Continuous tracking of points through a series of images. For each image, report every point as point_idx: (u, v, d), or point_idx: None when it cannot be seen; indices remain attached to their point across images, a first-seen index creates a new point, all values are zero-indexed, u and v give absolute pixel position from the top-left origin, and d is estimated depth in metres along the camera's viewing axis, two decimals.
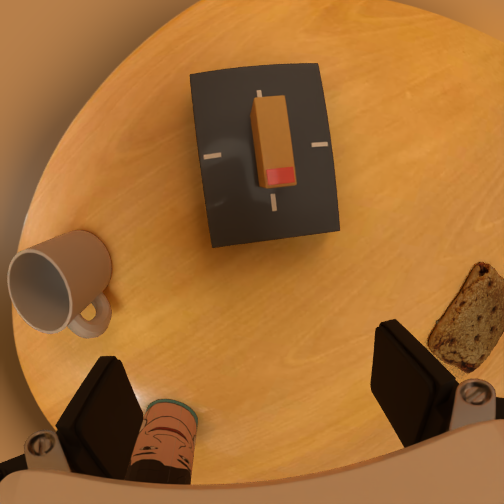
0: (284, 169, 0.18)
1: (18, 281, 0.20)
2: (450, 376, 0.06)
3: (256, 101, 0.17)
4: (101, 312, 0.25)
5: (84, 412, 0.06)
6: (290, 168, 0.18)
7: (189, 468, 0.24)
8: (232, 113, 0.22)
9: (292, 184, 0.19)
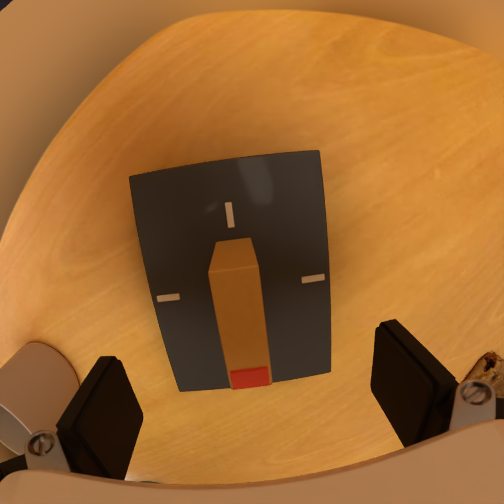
0: (255, 371, 0.13)
1: None
2: (450, 376, 0.06)
3: (212, 278, 0.12)
4: None
5: (84, 412, 0.06)
6: (263, 371, 0.13)
7: None
8: (190, 239, 0.17)
9: (266, 384, 0.13)
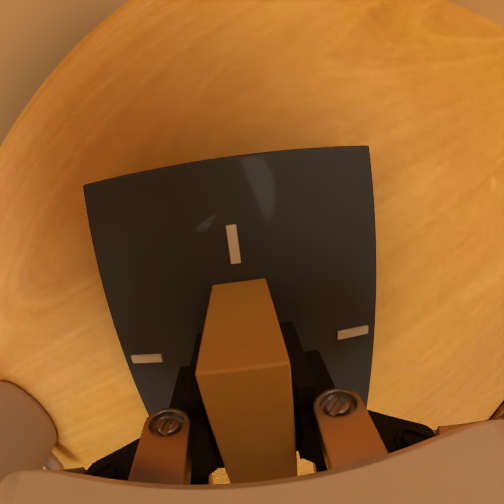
0: None
1: None
2: (311, 382, 0.07)
3: (203, 384, 0.06)
4: None
5: None
6: None
7: None
8: (175, 280, 0.11)
9: None
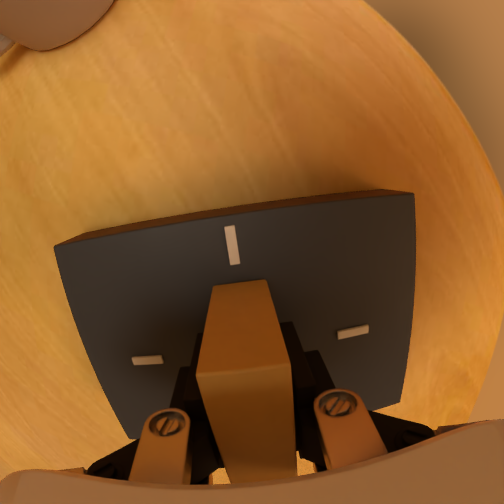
0: None
1: None
2: (311, 382, 0.07)
3: (203, 385, 0.06)
4: None
5: None
6: None
7: None
8: (326, 283, 0.11)
9: None
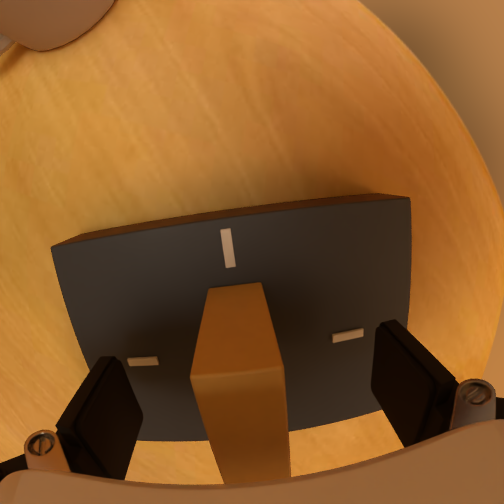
0: None
1: None
2: (449, 376, 0.06)
3: (197, 387, 0.06)
4: None
5: (84, 412, 0.06)
6: None
7: None
8: (321, 286, 0.11)
9: None
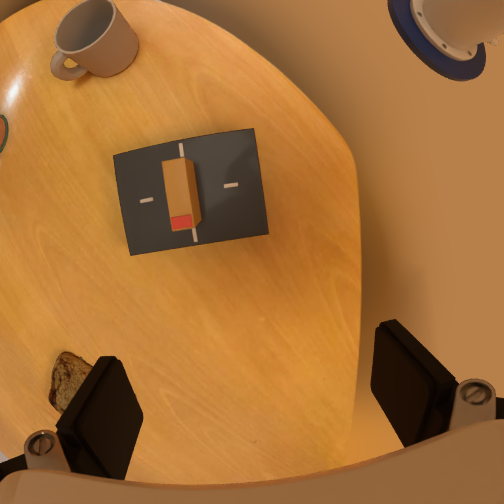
0: (184, 217, 0.24)
1: (97, 4, 0.20)
2: (450, 376, 0.06)
3: (163, 164, 0.23)
4: (71, 72, 0.25)
5: (84, 412, 0.06)
6: (188, 215, 0.24)
7: None
8: (216, 163, 0.29)
9: (191, 227, 0.25)
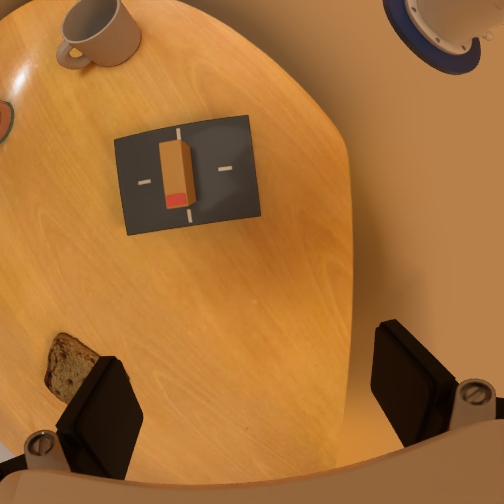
0: (178, 195, 0.25)
1: None
2: (450, 376, 0.06)
3: (160, 146, 0.24)
4: (76, 61, 0.25)
5: (84, 412, 0.06)
6: (182, 194, 0.25)
7: None
8: (212, 148, 0.30)
9: (185, 205, 0.26)
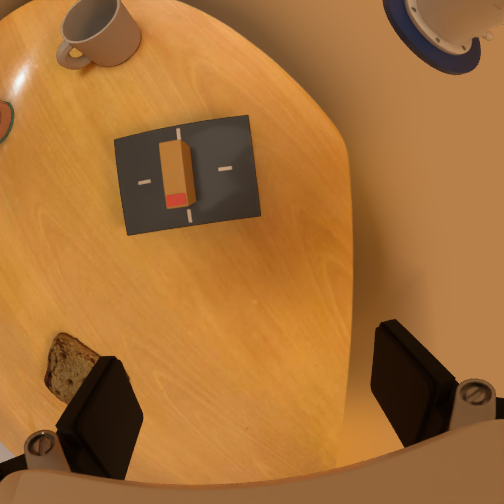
0: (178, 195, 0.25)
1: None
2: (450, 376, 0.06)
3: (160, 146, 0.24)
4: (76, 62, 0.25)
5: (84, 412, 0.06)
6: (182, 194, 0.25)
7: None
8: (212, 148, 0.30)
9: (185, 205, 0.26)
